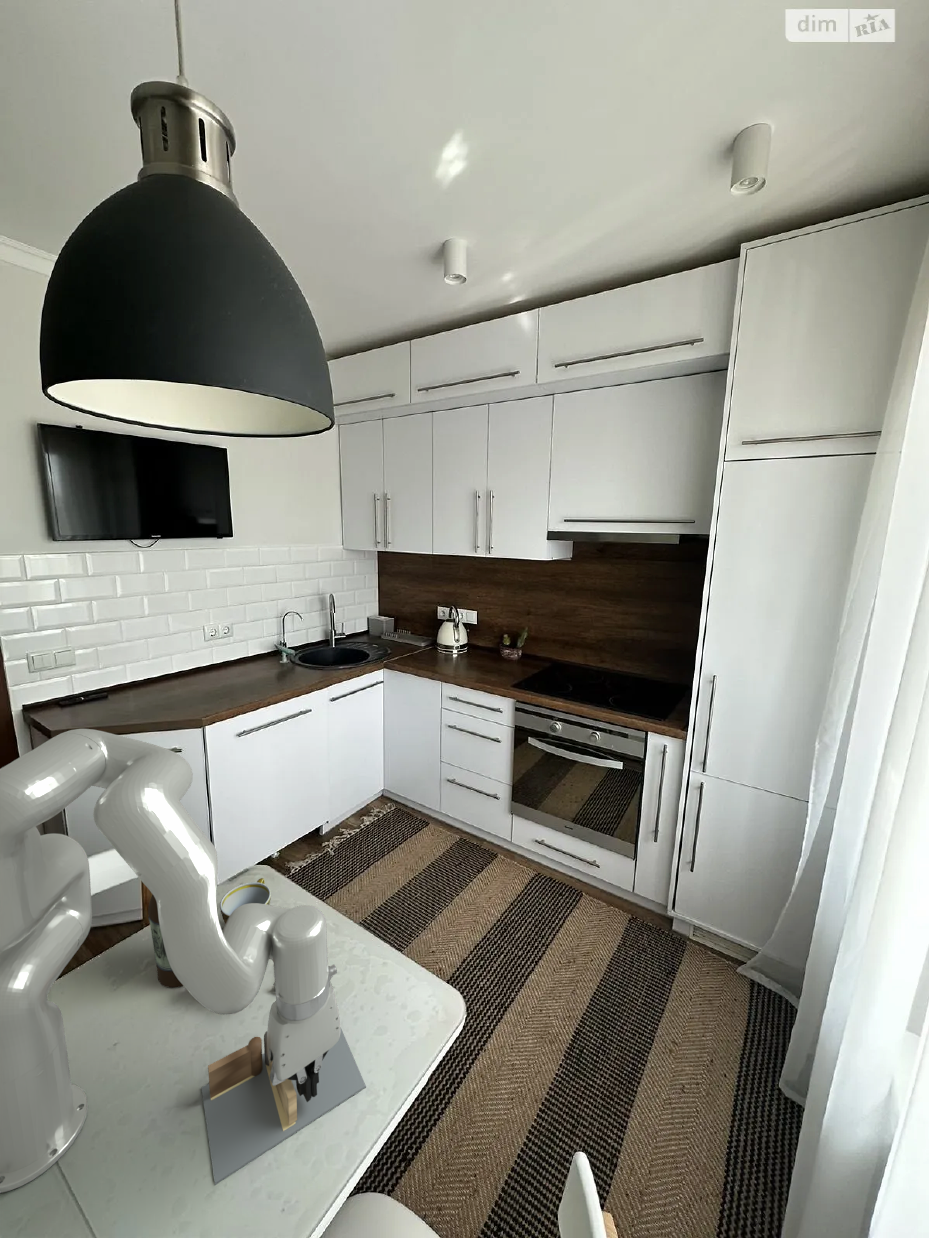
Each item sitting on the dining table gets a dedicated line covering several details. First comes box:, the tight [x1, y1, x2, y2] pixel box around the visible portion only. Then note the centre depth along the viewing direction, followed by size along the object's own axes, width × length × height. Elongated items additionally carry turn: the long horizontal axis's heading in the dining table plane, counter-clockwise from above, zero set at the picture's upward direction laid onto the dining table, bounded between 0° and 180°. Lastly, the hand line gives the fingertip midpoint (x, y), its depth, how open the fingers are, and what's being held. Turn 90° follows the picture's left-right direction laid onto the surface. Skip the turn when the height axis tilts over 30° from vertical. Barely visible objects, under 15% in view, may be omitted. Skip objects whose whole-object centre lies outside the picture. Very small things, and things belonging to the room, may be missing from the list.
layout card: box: [200, 1026, 367, 1186], centre depth 79 cm, size 22×14×1 cm, turn 124°
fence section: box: [207, 1036, 263, 1098], centre depth 79 cm, size 8×2×5 cm, turn 124°
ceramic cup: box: [219, 877, 272, 925], centre depth 107 cm, size 13×10×10 cm
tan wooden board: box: [263, 1031, 297, 1125], centre depth 78 cm, size 12×2×5 cm, turn 37°
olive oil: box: [147, 893, 184, 989], centre depth 97 cm, size 11×11×25 cm
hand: (308, 1090), depth 76 cm, fingers closed
